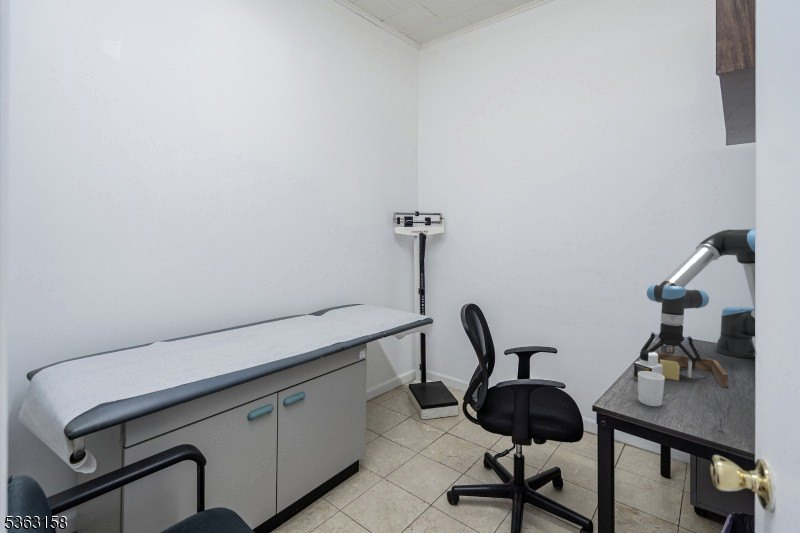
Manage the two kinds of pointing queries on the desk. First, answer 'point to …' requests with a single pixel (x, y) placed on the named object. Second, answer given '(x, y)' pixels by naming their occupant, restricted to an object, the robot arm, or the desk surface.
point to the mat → (693, 375)
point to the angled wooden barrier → (698, 365)
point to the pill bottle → (667, 349)
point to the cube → (670, 369)
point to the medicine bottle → (647, 363)
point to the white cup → (650, 388)
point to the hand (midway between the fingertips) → (668, 373)
